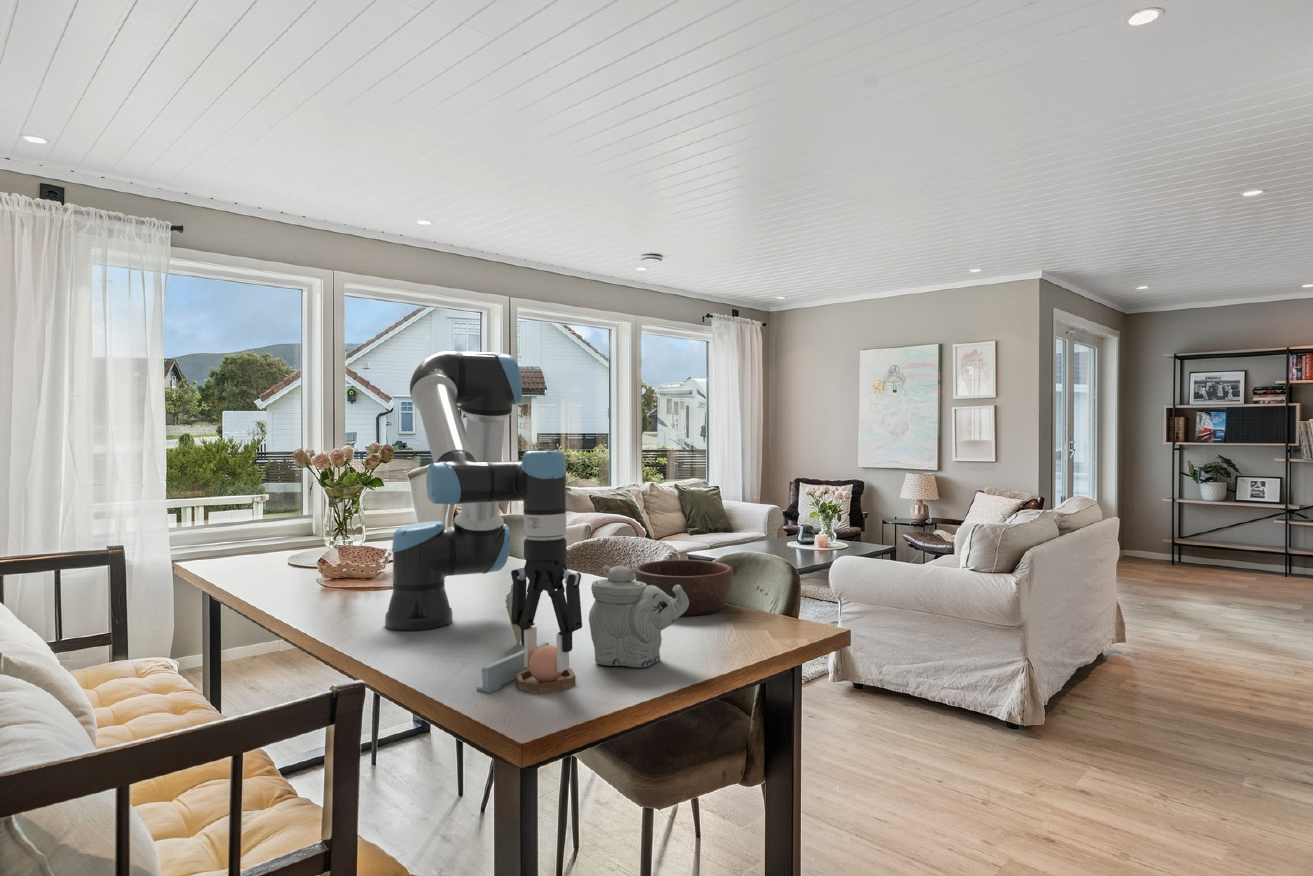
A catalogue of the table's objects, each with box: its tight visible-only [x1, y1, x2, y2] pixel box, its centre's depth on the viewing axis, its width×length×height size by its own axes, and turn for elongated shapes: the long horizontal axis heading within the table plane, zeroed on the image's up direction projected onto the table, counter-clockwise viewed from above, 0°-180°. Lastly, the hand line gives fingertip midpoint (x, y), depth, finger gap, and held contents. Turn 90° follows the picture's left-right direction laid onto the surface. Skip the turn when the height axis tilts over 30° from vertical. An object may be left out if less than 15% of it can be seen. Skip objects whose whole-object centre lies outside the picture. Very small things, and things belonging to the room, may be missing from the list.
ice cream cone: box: [505, 583, 528, 645], centre depth 160 cm, size 5×5×15 cm
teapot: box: [588, 564, 689, 668], centre depth 147 cm, size 16×15×19 cm
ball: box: [529, 644, 563, 683], centre depth 135 cm, size 6×6×6 cm
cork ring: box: [515, 667, 577, 694], centre depth 135 cm, size 10×10×2 cm
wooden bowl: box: [634, 559, 734, 617], centre depth 193 cm, size 25×25×10 cm
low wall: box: [476, 641, 550, 694], centre depth 139 cm, size 3×19×4 cm, turn 153°
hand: (546, 667), depth 135 cm, fingers closed on ball, 6 cm apart
